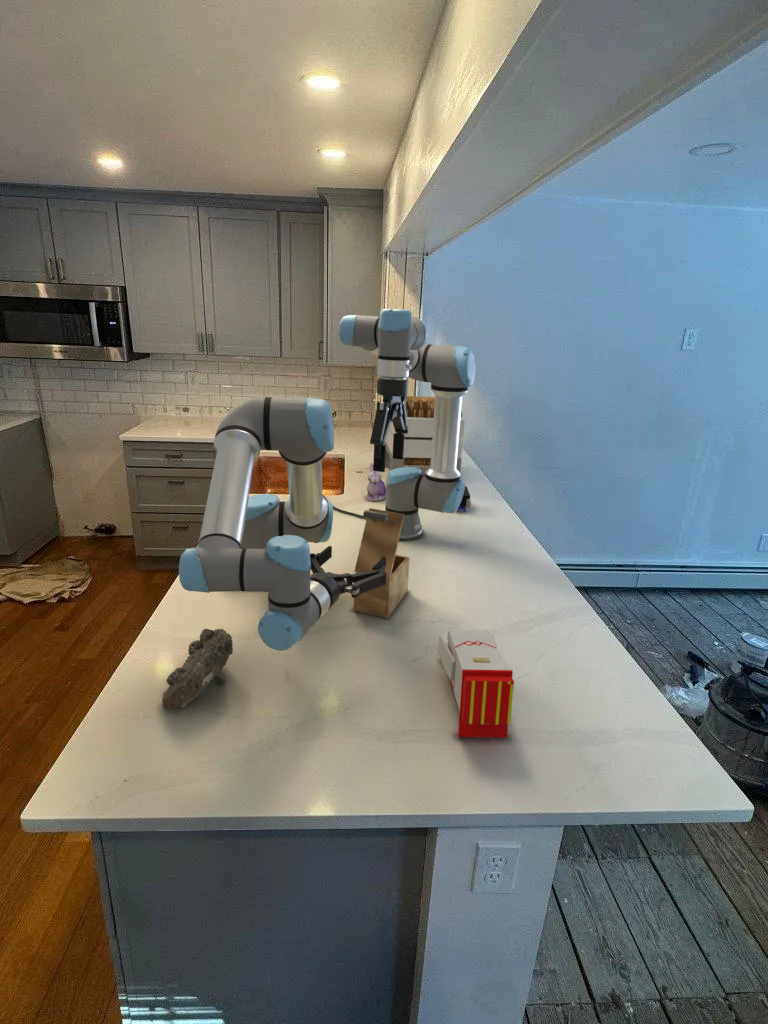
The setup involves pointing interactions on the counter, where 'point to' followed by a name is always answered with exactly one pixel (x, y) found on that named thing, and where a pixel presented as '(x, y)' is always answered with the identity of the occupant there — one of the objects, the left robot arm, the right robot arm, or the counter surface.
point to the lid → (379, 540)
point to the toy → (478, 682)
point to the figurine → (375, 486)
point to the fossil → (198, 667)
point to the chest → (386, 591)
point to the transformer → (418, 435)
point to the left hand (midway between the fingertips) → (357, 556)
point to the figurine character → (465, 500)
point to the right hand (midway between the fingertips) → (388, 464)
